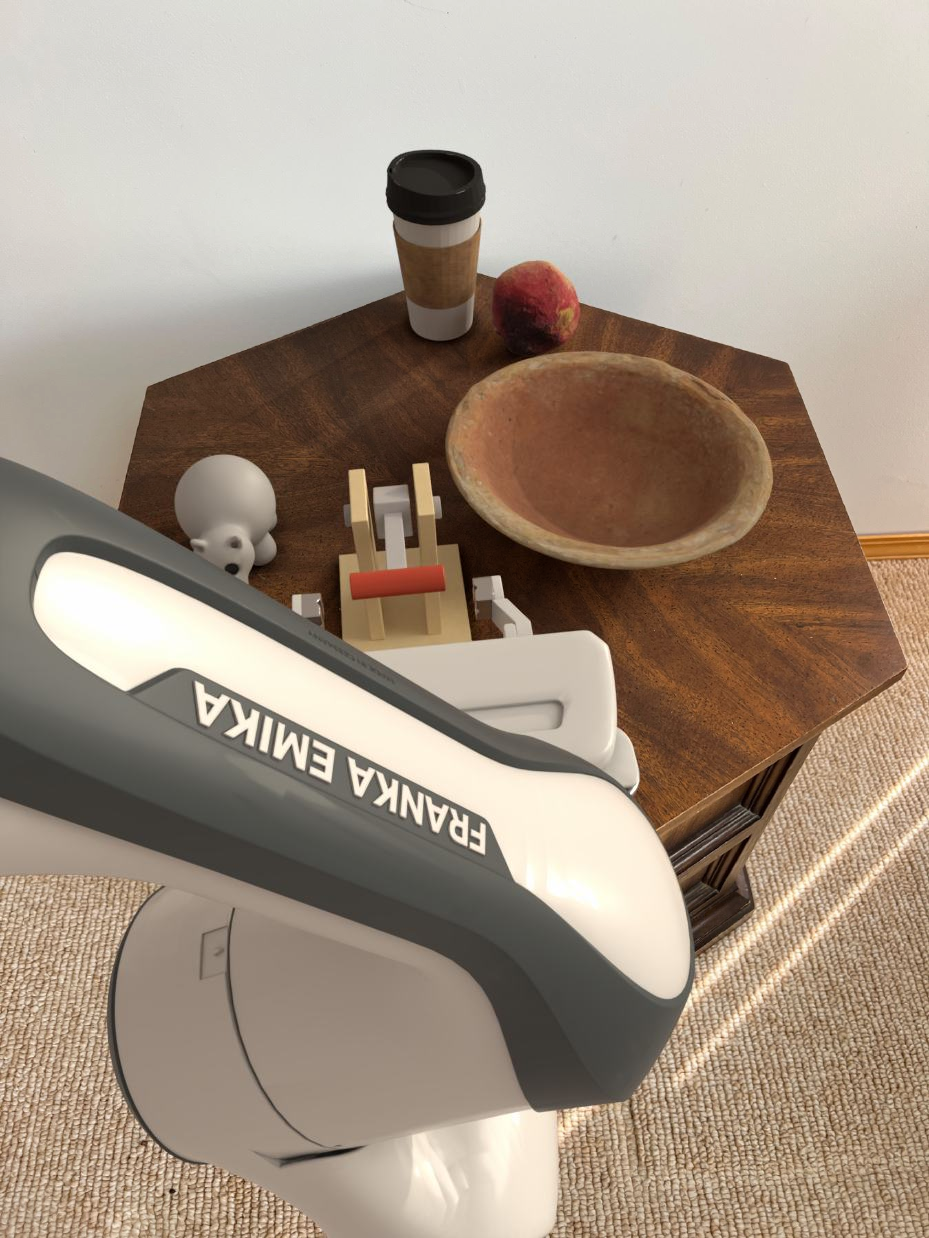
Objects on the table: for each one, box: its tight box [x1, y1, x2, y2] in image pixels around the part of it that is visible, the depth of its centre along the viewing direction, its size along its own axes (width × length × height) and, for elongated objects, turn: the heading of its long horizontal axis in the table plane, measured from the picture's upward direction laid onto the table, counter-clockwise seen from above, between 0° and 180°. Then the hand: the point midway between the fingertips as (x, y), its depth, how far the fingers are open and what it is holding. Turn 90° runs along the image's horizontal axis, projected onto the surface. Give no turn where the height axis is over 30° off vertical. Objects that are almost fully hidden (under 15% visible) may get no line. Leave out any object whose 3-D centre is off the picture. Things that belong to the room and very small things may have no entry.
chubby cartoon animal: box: [174, 454, 278, 585], centre depth 68 cm, size 7×12×8 cm, turn 5°
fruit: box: [491, 259, 581, 357], centre depth 84 cm, size 8×8×8 cm
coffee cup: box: [384, 149, 487, 342], centre depth 83 cm, size 8×8×15 cm
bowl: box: [444, 350, 774, 571], centre depth 71 cm, size 24×24×8 cm
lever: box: [349, 484, 446, 600], centre depth 55 cm, size 12×5×2 cm, turn 6°
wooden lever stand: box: [338, 462, 473, 652], centre depth 63 cm, size 12×9×14 cm
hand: (397, 591), depth 50 cm, fingers open, 8 cm apart
